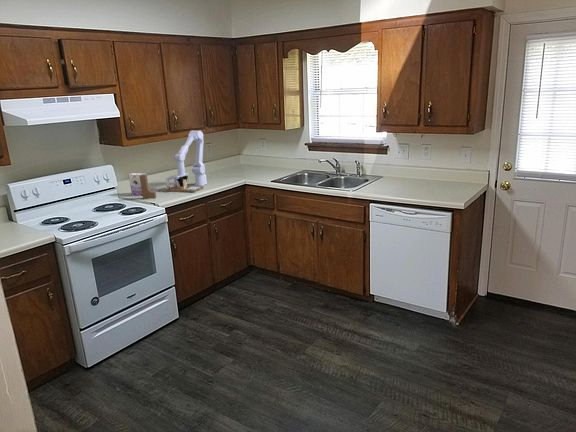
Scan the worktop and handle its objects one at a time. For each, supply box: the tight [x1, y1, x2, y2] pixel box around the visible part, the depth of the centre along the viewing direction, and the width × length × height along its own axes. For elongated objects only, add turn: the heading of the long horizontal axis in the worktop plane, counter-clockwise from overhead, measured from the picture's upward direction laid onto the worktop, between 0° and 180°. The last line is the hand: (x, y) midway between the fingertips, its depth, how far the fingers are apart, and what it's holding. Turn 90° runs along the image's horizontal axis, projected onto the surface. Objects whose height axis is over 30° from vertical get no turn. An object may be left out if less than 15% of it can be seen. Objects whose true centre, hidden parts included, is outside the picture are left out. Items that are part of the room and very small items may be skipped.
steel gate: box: [165, 174, 179, 189], centre depth 360 cm, size 12×2×9 cm, turn 158°
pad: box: [186, 187, 200, 190], centre depth 354 cm, size 8×8×1 cm
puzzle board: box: [164, 185, 204, 194], centre depth 358 cm, size 14×27×2 cm, turn 68°
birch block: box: [180, 180, 188, 189], centre depth 357 cm, size 4×4×8 cm
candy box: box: [128, 172, 144, 196], centre depth 350 cm, size 14×6×16 cm, turn 59°
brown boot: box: [139, 173, 157, 200], centre depth 336 cm, size 9×4×18 cm, turn 95°
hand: (183, 185), depth 357 cm, fingers closed on birch block, 4 cm apart
